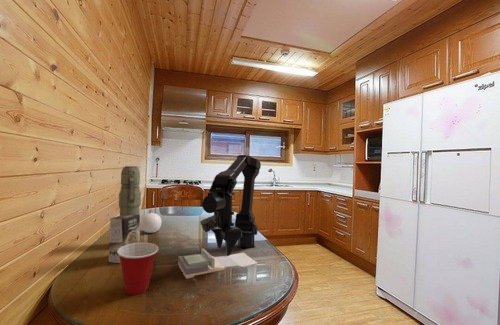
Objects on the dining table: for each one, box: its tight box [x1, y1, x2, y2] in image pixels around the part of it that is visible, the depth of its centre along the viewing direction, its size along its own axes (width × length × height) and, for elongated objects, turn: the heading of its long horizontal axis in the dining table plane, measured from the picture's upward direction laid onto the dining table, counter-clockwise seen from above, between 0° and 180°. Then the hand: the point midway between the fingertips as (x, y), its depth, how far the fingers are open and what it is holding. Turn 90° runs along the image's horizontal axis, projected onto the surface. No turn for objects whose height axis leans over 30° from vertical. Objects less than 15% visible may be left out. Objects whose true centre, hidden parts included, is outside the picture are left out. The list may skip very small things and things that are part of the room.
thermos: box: [118, 165, 142, 243], centre depth 110 cm, size 9×12×35 cm
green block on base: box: [184, 248, 215, 268], centre depth 85 cm, size 8×12×4 cm, turn 28°
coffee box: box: [108, 214, 141, 264], centre depth 94 cm, size 9×6×16 cm
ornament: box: [140, 209, 163, 234], centre depth 131 cm, size 10×10×12 cm
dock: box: [177, 252, 258, 280], centre depth 89 cm, size 26×12×3 cm, turn 118°
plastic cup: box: [117, 242, 159, 296], centre depth 70 cm, size 11×11×12 cm
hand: (223, 251), depth 90 cm, fingers open, 9 cm apart
